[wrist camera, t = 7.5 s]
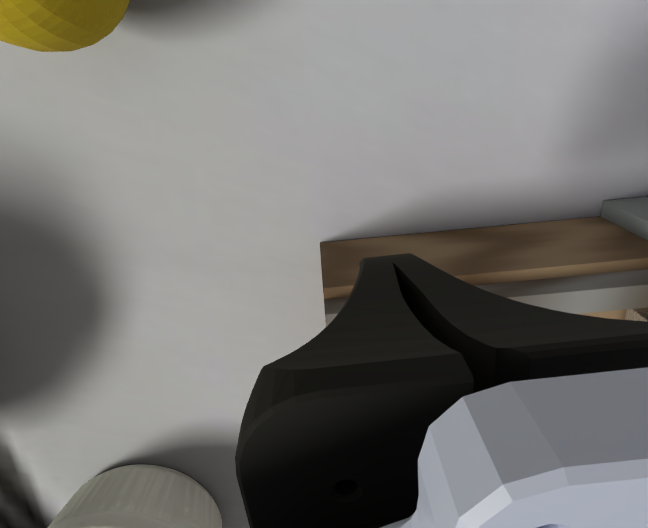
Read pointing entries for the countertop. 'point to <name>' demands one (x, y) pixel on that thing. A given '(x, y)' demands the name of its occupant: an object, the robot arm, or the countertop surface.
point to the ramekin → (140, 501)
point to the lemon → (58, 22)
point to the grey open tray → (628, 214)
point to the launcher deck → (515, 264)
